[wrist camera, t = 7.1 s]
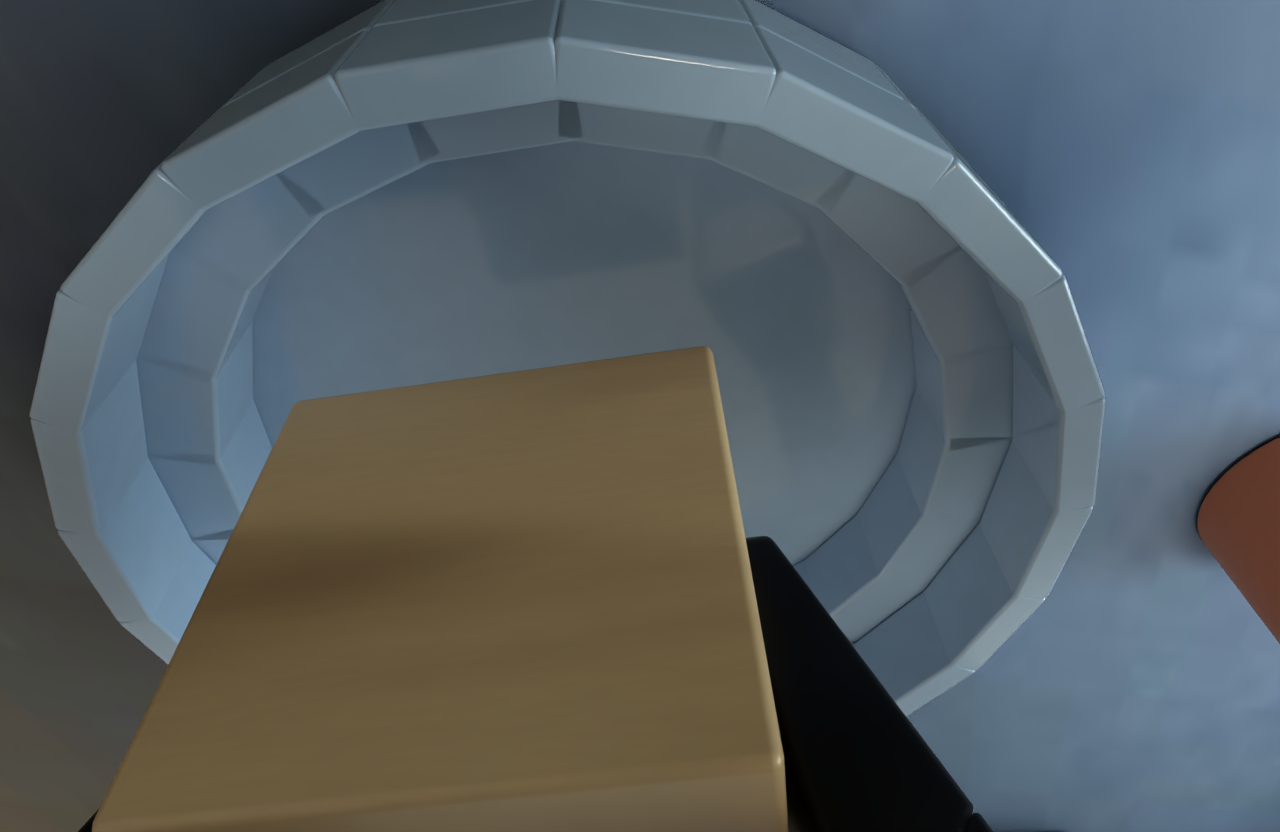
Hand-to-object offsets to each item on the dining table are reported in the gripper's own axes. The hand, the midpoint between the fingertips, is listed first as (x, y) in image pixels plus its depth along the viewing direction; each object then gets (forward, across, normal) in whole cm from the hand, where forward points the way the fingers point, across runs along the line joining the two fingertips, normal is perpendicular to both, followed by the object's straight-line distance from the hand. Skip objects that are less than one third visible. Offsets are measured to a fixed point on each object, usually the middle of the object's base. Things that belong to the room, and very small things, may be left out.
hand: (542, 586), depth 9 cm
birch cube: (+1, 0, 0) cm, 1 cm away
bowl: (+6, 0, +3) cm, 7 cm away
